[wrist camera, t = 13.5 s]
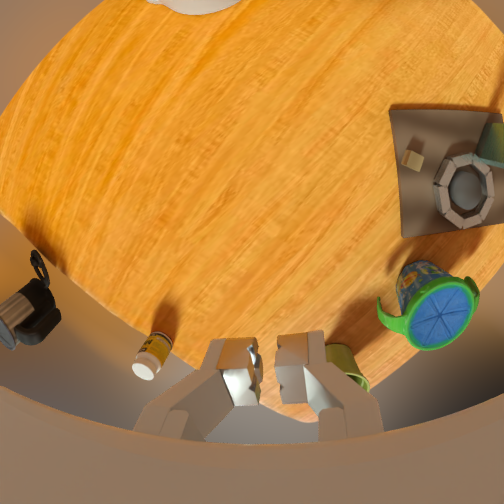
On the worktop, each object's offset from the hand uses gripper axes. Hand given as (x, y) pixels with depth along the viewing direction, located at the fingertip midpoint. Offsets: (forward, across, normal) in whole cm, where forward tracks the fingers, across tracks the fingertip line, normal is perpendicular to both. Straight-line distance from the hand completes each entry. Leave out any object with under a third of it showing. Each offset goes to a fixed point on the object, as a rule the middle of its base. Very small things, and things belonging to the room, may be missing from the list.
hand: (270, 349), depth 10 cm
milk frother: (+29, +52, +8) cm, 60 cm away
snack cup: (+29, -18, +16) cm, 38 cm away
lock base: (+29, -25, 0) cm, 38 cm away
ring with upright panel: (+28, -26, 0) cm, 38 cm away
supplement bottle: (+29, +26, +22) cm, 45 cm away
